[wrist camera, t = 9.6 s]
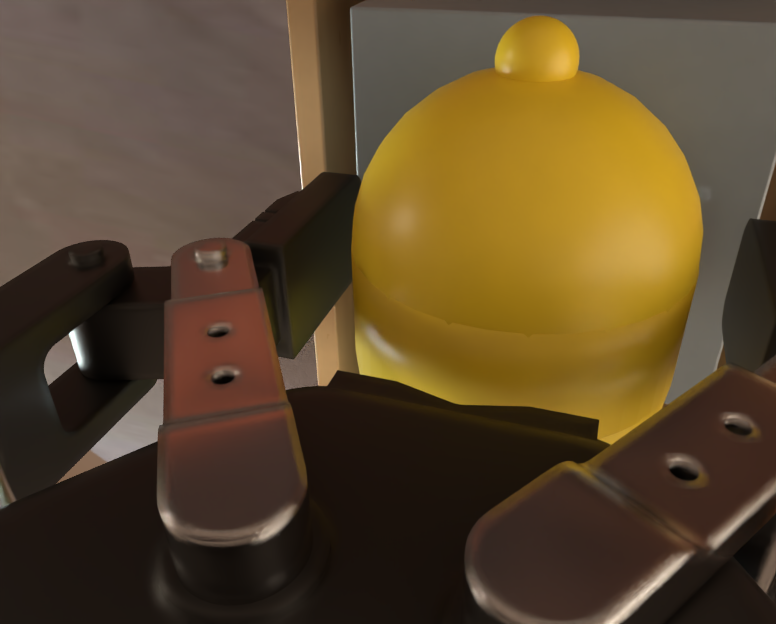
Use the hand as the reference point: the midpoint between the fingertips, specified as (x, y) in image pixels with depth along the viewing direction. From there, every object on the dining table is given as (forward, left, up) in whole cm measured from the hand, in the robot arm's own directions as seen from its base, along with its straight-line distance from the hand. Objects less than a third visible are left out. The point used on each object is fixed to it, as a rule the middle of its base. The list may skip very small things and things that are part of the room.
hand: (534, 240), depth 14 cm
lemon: (0, 0, -1) cm, 1 cm away
